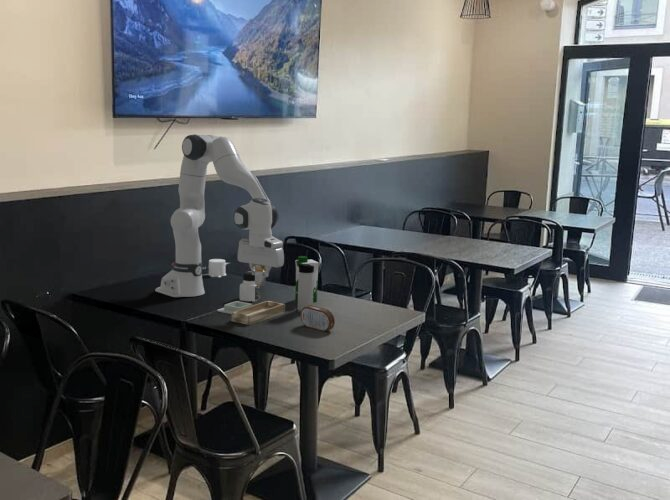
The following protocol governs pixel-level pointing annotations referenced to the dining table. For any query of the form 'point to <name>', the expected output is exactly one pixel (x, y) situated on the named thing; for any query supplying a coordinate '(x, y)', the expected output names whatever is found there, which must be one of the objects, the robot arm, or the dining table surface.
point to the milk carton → (313, 263)
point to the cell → (259, 275)
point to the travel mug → (305, 286)
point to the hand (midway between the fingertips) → (260, 275)
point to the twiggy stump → (217, 267)
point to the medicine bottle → (249, 288)
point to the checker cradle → (234, 307)
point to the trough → (257, 312)
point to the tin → (317, 318)
